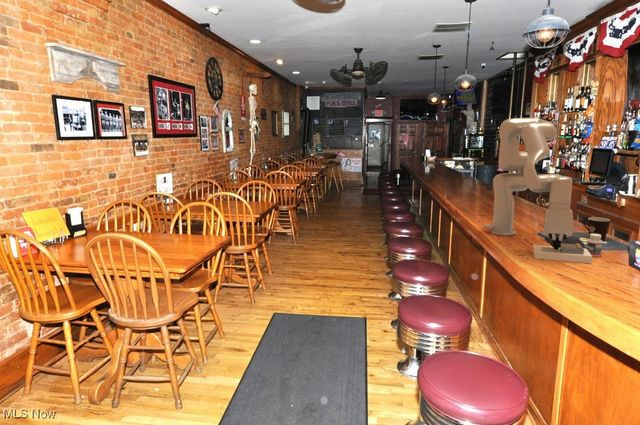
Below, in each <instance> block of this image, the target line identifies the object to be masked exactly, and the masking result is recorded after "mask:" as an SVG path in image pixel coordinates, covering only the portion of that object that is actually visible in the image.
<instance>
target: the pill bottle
mask: <svg viewBox="0 0 640 425" xmlns="http://www.w3.org/2000/svg"><path fill="white" fill-rule="evenodd" d="M600 239H601V235H600V234H590V239H589V238H588V239H587V241H586V247H587V250H588V251H589V253H590V254H591V255H592V257H596V258H597V257H601V255H602V252H603V251H602V250H603V241H602V240H600Z"/></svg>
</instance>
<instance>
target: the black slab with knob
mask: <svg viewBox="0 0 640 425" xmlns="http://www.w3.org/2000/svg"><path fill="white" fill-rule="evenodd" d="M558 236H559V234H555V237H556V240H557V238H558ZM544 239H545V240H546V241H547V242H549V244H552V238H551V237H549V236H545V237H544ZM561 243H562V244H576V243H579V244H580V245H581V246H582V248H583V249H587V248H586V247H587V246H586V247H585V246H584V245H586V244H585V243H584V241H582V240H581V239H580V238H579V237H576V236H574V235H572V236H569V237H565V238H564V239H562V241H561Z"/></svg>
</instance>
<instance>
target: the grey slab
mask: <svg viewBox="0 0 640 425" xmlns="http://www.w3.org/2000/svg"><path fill="white" fill-rule="evenodd" d="M560 250H561V252H562V253H572V254H584V249H583V248H582V246H581V245H580V244H579V243H576V244H562V243H561V247H560Z"/></svg>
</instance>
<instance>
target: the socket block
mask: <svg viewBox="0 0 640 425" xmlns="http://www.w3.org/2000/svg"><path fill="white" fill-rule="evenodd" d="M532 254H533V258H534V259H535V260H542V259H544V261H555V262H568V263H582V264H592V263H593V262H592V261H593V256H592V255H591V254H590V253H589V251H588V250H587V249H584V254H572V253H562V252H561V250H560V247H559V250H557V249H556V250H554V247H552V245H551V246H550V245H537V244H533V245H532Z"/></svg>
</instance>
